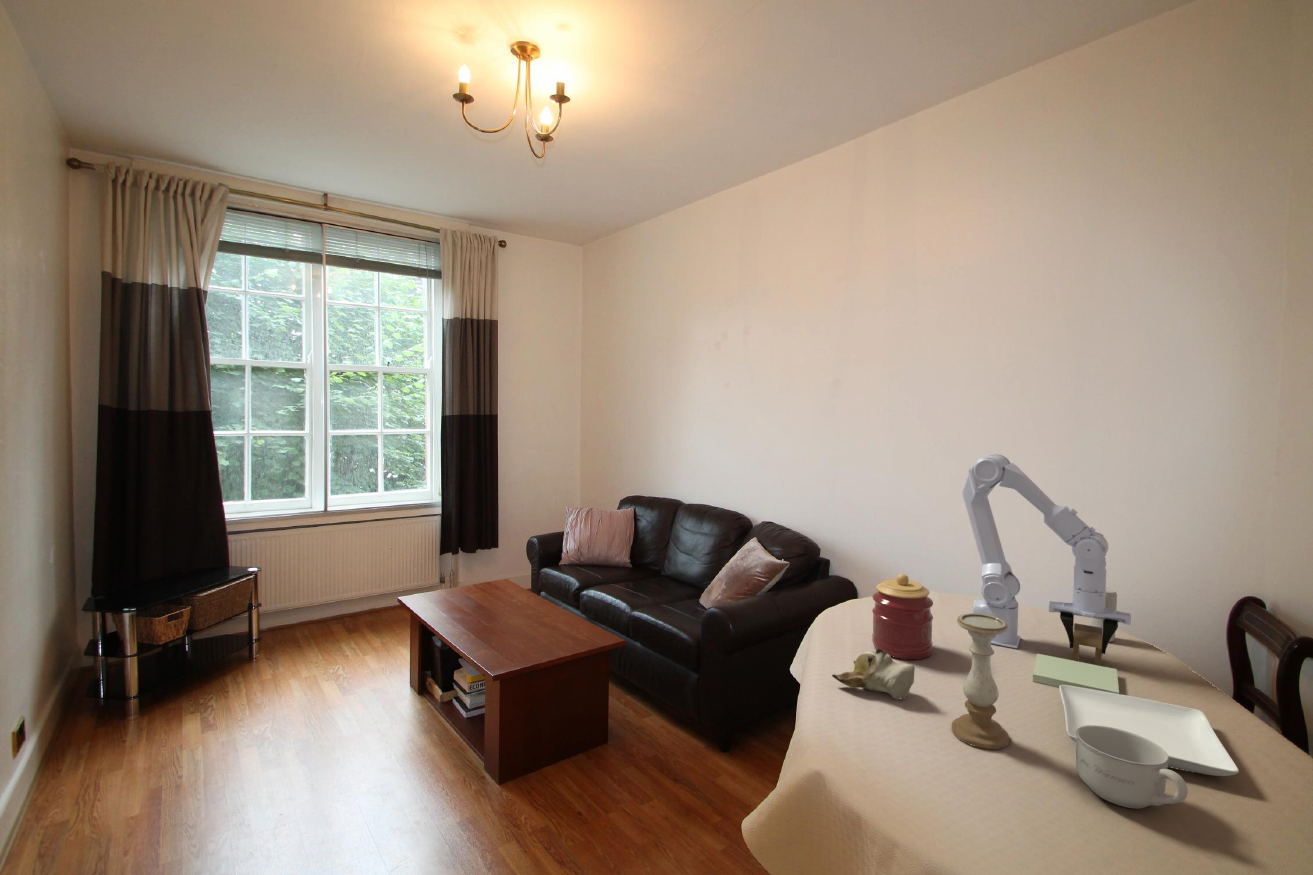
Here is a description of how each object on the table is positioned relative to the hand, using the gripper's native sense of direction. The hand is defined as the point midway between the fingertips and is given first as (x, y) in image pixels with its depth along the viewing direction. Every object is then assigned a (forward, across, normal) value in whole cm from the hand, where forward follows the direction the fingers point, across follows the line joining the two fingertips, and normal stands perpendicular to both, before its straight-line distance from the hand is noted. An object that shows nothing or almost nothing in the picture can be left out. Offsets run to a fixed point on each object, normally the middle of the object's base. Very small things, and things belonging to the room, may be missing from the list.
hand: (1087, 649), depth 133 cm
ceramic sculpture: (+3, -34, -39) cm, 52 cm away
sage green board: (+2, -2, -12) cm, 12 cm away
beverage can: (+3, +3, +16) cm, 16 cm away
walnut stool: (+2, 0, 0) cm, 2 cm away
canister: (+3, -35, -16) cm, 39 cm away
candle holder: (+3, -15, -46) cm, 48 cm away
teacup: (+3, +5, -53) cm, 53 cm away
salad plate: (+3, +7, -32) cm, 33 cm away
